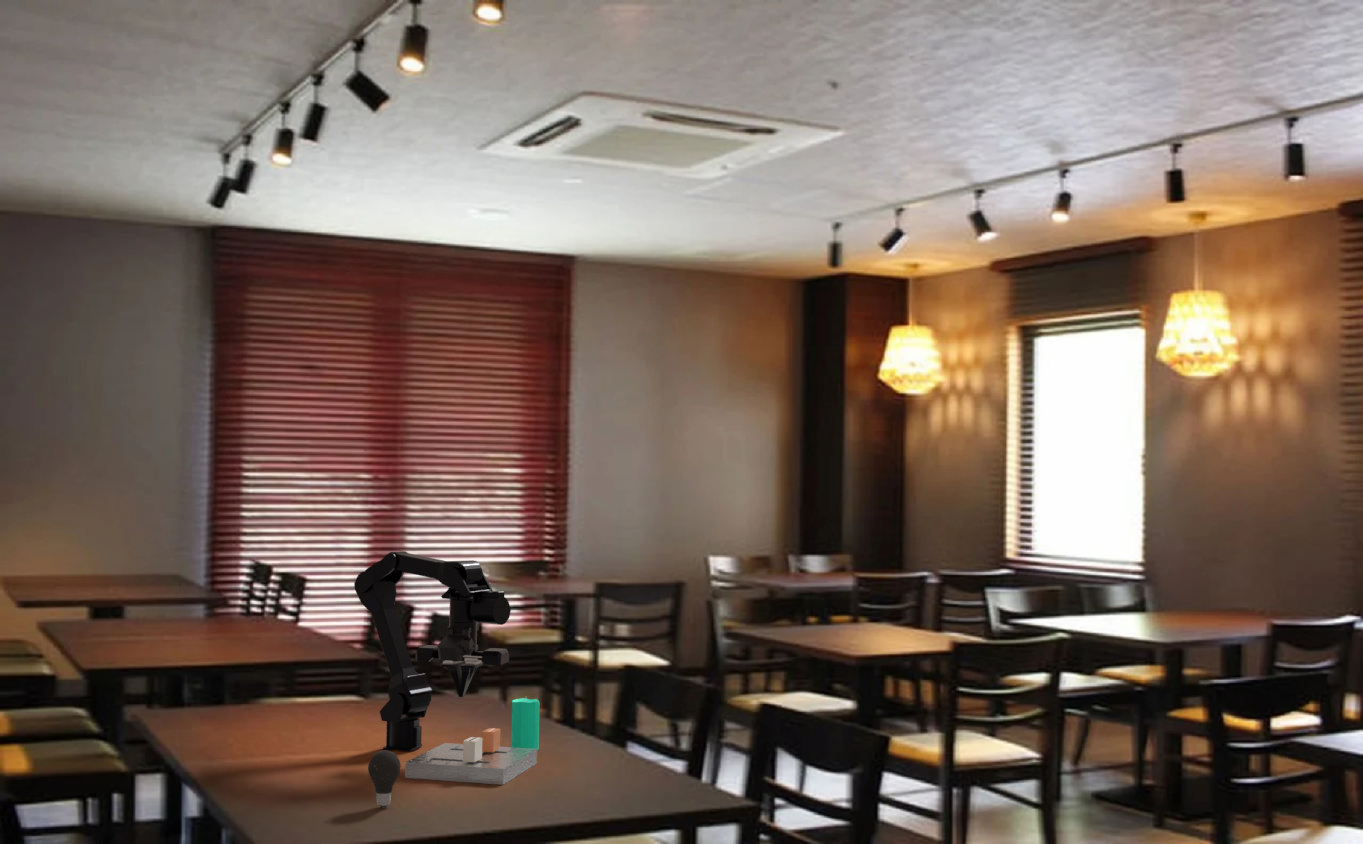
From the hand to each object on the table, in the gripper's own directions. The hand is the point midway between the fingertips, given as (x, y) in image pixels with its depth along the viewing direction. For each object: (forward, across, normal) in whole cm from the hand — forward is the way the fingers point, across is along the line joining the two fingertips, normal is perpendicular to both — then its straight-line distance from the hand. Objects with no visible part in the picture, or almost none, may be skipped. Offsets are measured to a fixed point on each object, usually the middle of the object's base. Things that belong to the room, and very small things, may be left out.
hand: (461, 696), depth 293 cm
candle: (+13, +10, +12) cm, 20 cm away
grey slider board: (+12, +7, -11) cm, 18 cm away
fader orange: (+12, +9, -6) cm, 17 cm away
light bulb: (+13, +3, -44) cm, 46 cm away
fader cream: (+12, +9, -16) cm, 23 cm away
